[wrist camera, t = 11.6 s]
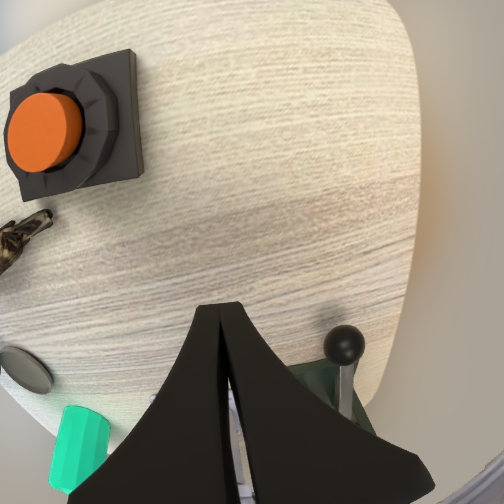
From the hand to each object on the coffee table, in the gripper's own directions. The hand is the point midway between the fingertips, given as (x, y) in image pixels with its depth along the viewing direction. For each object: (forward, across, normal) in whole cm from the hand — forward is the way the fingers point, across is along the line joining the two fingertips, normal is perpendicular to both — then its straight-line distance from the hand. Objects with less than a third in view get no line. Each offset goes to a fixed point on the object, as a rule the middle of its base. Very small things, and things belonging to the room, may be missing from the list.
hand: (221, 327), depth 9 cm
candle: (+9, +18, +22) cm, 29 cm away
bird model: (+8, +16, -1) cm, 18 cm away
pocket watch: (+9, +22, +12) cm, 26 cm away
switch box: (+9, +8, -7) cm, 13 cm away
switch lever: (+4, -8, +13) cm, 16 cm away
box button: (+6, +8, -7) cm, 12 cm away
